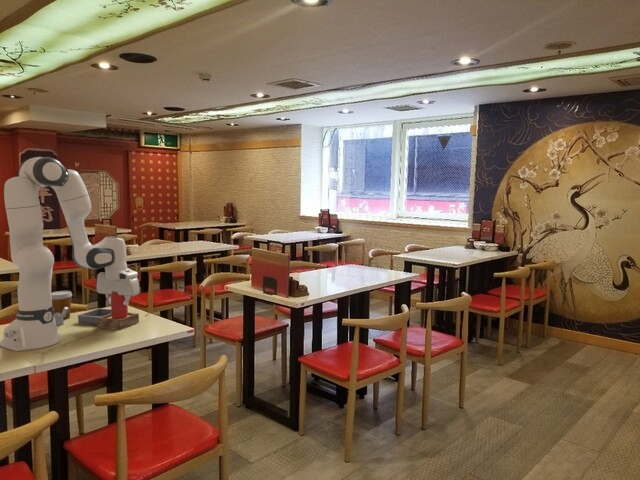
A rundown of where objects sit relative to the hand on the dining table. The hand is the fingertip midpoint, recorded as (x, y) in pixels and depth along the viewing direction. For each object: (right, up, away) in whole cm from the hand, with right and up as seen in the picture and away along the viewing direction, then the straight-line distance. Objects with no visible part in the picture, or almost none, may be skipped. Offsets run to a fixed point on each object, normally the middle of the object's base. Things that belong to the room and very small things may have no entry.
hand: (118, 304), depth 209 cm
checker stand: (0, -9, +1) cm, 9 cm away
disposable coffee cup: (-31, -8, +11) cm, 33 cm away
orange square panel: (0, -7, +1) cm, 7 cm away
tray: (-12, -8, +8) cm, 16 cm away
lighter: (-25, -9, +1) cm, 27 cm away
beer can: (0, -6, +1) cm, 6 cm away
